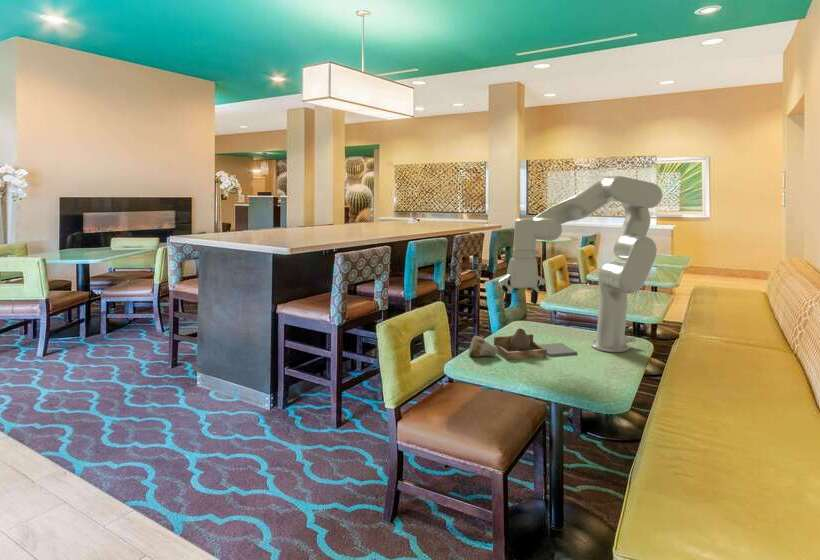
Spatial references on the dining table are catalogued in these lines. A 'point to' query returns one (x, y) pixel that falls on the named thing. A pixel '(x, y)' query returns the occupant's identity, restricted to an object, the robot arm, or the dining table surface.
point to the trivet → (558, 349)
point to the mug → (482, 347)
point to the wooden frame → (504, 345)
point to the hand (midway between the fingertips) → (520, 303)
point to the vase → (520, 341)
